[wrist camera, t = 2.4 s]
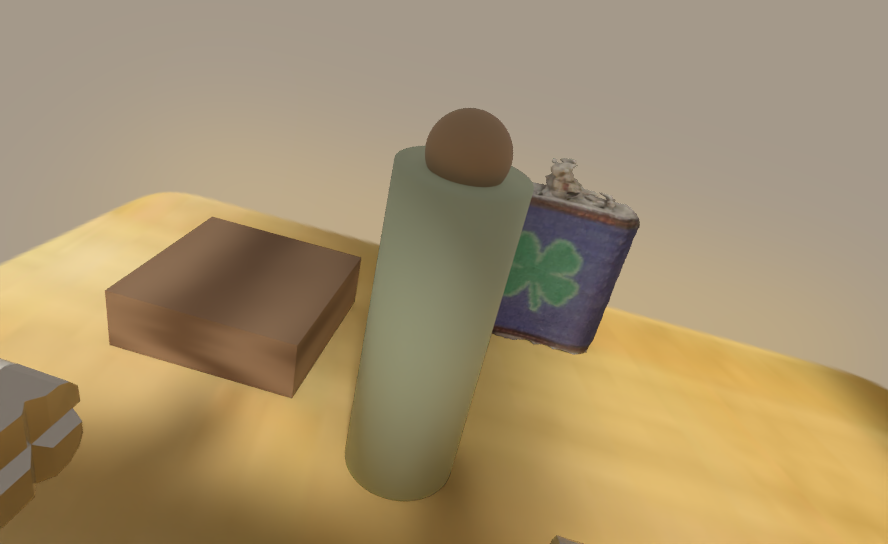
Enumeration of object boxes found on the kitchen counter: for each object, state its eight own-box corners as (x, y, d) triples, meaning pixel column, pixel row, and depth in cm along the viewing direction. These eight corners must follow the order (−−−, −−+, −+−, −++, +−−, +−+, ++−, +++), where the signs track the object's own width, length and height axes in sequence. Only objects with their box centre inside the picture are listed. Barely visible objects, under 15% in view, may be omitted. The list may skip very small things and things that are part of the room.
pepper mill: (459, 434, 27) (553, 112, 20) (440, 515, 23) (549, 148, 16) (363, 406, 28) (423, 80, 20) (328, 481, 24) (387, 107, 16)
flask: (438, 322, 35) (480, 148, 30) (444, 298, 38) (484, 134, 32) (591, 360, 35) (659, 192, 30) (587, 333, 37) (649, 174, 32)
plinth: (354, 301, 35) (361, 257, 34) (291, 398, 27) (297, 345, 26) (211, 261, 36) (212, 216, 34) (109, 344, 28) (104, 290, 26)
